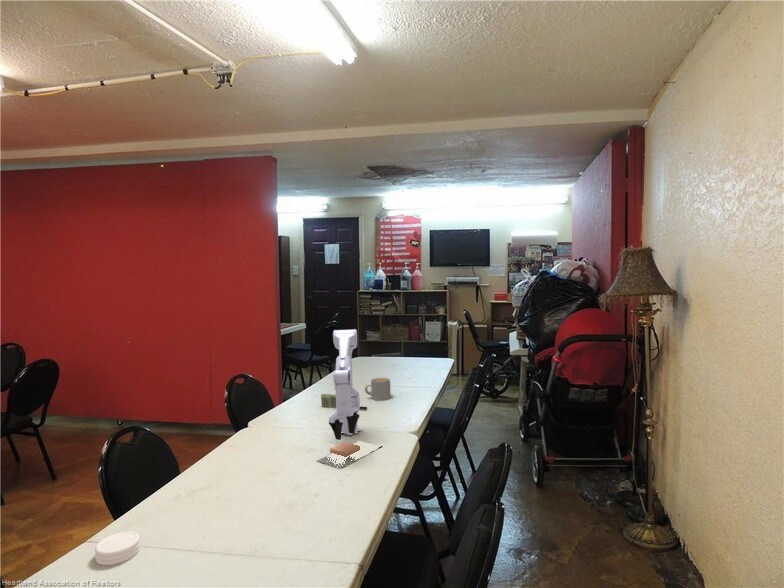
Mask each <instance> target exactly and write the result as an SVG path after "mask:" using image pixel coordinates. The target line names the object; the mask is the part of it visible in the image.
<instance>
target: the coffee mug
mask: <svg viewBox="0 0 784 588" xmlns="http://www.w3.org/2000/svg"><path fill="white" fill-rule="evenodd" d="M369 387H370V388H371V390H370V391H368V388H369ZM364 393H366V395H369V396H371V400H373V401H376V402H379V401H380V402H384V401H388V400H390V399H392V398H391V396H392V395H391V379H390V378H389V377H385V376H384V377H381V376H379V377H375V378H371V382H369V383H366V384H365V386H364Z"/></svg>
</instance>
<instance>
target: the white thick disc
mask: <svg viewBox="0 0 784 588" xmlns="http://www.w3.org/2000/svg"><path fill="white" fill-rule="evenodd" d="M140 540H141V536H140V535H139V533H137V532H135V531H129V530H128V531H120V532H115V533H114V534H110V535H108V536H106V537H104V538H103V539H102V540H100V541H99V542H98V543H97V544H96V545H95V547H94V552H95V553H94V557H95V562H96V564H98V565H100V566H115V565H118V564H121V563H124V562H126V561H129V560H130V559H132V558H133V557H135V556H136V555H137V554H138V553H139V552H140V550H141V541H140Z"/></svg>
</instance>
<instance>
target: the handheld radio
mask: <svg viewBox="0 0 784 588" xmlns="http://www.w3.org/2000/svg"><path fill="white" fill-rule="evenodd" d="M320 398H321V401H320V402H321V407H322V408H329V409H336V394H331V393H321V394H320ZM359 410H365V411H367V410H368V406H361V405H360V409H359Z"/></svg>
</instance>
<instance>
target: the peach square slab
mask: <svg viewBox="0 0 784 588" xmlns="http://www.w3.org/2000/svg"><path fill="white" fill-rule="evenodd" d="M359 450H360V446H358V445H354V444H352V443H350V442H345V441H343V442H341V443H339V444H337V445H335V446H333V447H331V448H329V453H330V454H332V453H334V454H337V455H341V456H344V457H347V456H349V455H351V454H353V453H355V452H357V451H359Z"/></svg>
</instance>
